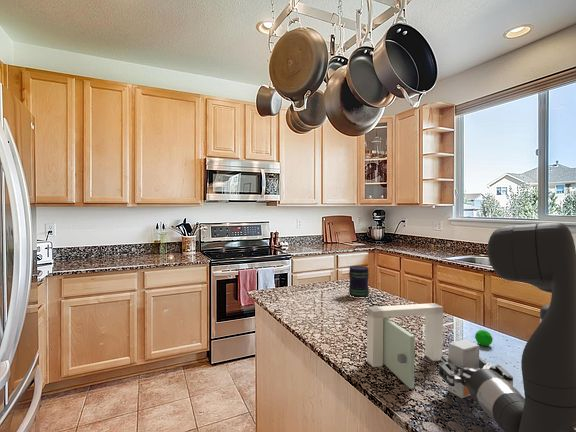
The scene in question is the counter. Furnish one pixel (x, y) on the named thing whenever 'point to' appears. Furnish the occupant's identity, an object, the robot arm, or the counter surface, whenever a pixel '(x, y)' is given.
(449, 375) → the robot arm
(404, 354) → the door
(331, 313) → the counter surface
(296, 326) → the counter surface
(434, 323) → the door frame
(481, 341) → the polyhedron
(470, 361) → the skincare box
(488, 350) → the counter surface
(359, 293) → the storage jar
